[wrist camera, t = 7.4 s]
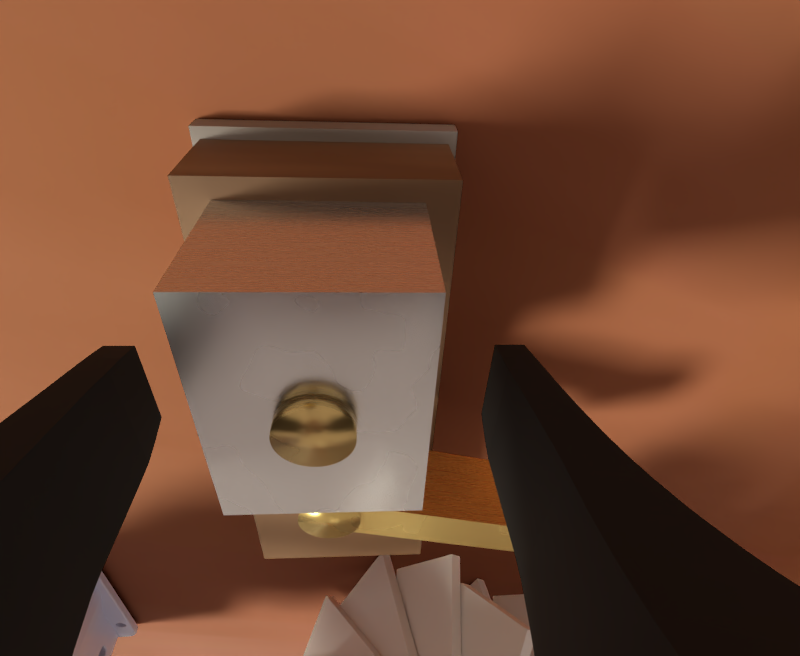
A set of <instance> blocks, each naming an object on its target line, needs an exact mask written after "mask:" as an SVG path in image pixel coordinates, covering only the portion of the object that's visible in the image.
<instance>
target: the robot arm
mask: <svg viewBox="0 0 800 656" xmlns="http://www.w3.org/2000/svg"><path fill="white" fill-rule="evenodd" d="M481 414H482V421H483V428H484V435H485V442H486V448H487V454H488V460H489V463H490V467H491V471H492V475H493V478H494V482H495V485H496V489H497V493H498V496H499V500H500V503H501V507H502V511H503V514H504V518H505V521H506V525H507V528H508V532H509V536H510V539H511V543H512V546H513V550H514V553H515V557H516V561H517V565H518V569H519V574H520V578H521V582H522V587H523V593H524V599H525V604H526V610H527V615H528V621H529V626H530V632H531V638H532V644H533V650H534V656H800V587H799V586H798V585H796V584H795V583H793V582H792V581H790V580H789V579H787V578H786V577H784V576H782V575H781V574H779V573H778V572H776V571H775V570H774V569H772V568H771V567H769V566H768V565H766V564H765V563H763V562H762V561H760V560H759V559H757V558H756V557H755V556H753V555H752V554H750V553H749V552H747V551H746V550H745V549H743V548H742V547H740V546H739V545H738V544H736V543H735V542H734V541H732V540H731V539H730V538H728V537H727V536H725V535H724V534H723V533H721V532H720V531H719V530H717V529H716V528H715V527H713V526H712V525H710V524H709V523H708V522H706V521H705V520H704V519H702V518H701V517H700V516H699V515H697V514H696V513H695V512H693V511H692V510H691V509H690V508H688V507H687V506H686V505H685V504H683V503H682V502H681V501H680V500H678V499H677V498H676V497H675V496H674V495H672V494H671V493H670V492H669V491H668V490H666V489H665V488H664V487H663V486H662V485H660V484H659V483H658V482H657V481H656V480H654V479H653V478H652V477H651V476H650V475H649V474H647V473H646V472H645V471H644V470H643V469H642V468H641V467H640V466H638V465H637V464H636V463H635V462H634V461H633V460H632V459H631V458H630V457H629V456H628V455H627V454H625V453H624V452H623V451H622V450H621V449H620V448H619V447H618V446H617V445H616V444H615V443H614V442H613V441H612V440H611V439H610V438H609V437H608V436H607V435H606V434H605V433H604V432H603V431H602V430H601V429H600V428H599V427H598V426H597V425H596V424H595V423H594V422H593V421H592V420H591V419H590V418H589V417H588V416H587V415H586V414H585V413H584V411H583V410H582V409H581V408H580V407H579V406H578V405H577V404H576V403H575V402H574V401H573V400H572V399H571V397H570V396H569V395H568V394H567V393H566V392H565V391H564V390H563V389H562V387H561V386H560V385H559V384H558V383H557V382H556V381H555V380H554V378H553V377H552V376H551V375H550V374H549V373H548V372H547V370H546V369H545V368H544V367H543V366H542V365H541V363H540V362H539V361H538V360H537V359H536V358H535V357H534V355H533V354H532V353H531V352H530V351H529V350H528V349H527V348H526V346H525V345H495V347H494V352H493V357H492V362H491V368H490V373H489V378H488V383H487V388H486V393H485V398H484V403H483V408H482V413H481ZM160 421H161V415H160V412H159V409H158V407H157V404H156V401H155V399H154V396H153V393H152V391H151V388H150V385H149V383H148V380H147V377H146V375H145V372H144V369H143V367H142V364H141V361H140V359H139V356H138V353H137V351H136V348H135V346H102V347H101V348H99V349H98V350H97V351H95V352H94V353H92V354H91V355H89V356H88V357H87V358H85V359H84V360H83V361H81V362H80V363H79V364H77V365H76V366H75V367H73V368H72V369H71V370H69V371H68V372H67V373H65V374H64V375H63V376H62V377H60V378H59V379H58V380H56V381H55V382H54V383H52V384H51V385H50V386H49V387H47V388H46V389H45V390H43V391H42V392H41V393H39V394H38V395H37V396H35V397H34V398H33V399H31V400H30V401H29V402H27V403H26V404H25V405H23V406H22V407H21V408H19V409H18V410H17V411H15V412H14V413H13V414H12V415H10V416H9V417H8V418H6V419H5V420H4V421H2V422H1V423H0V656H111V655H112V652H113V649H114V646H115V644H116V641H117V638H118V637H127V636H133V635H135V634H136V632H137V629H138V625H137V624H136V622H135V621H134V619H133V618H132V616H131V615H130V613H129V612H128V610H127V609H126V607H125V606H124V604H123V602H122V601H121V599H120V598H119V596H118V595H117V593H116V592H115V590H114V589H113V587H112V586H111V584H110V583H109V581H108V580H107V578H106V577H105V575H104V574H103V572H102V569H103V567H104V564H105V562H106V560H107V558H108V555H109V553H110V551H111V549H112V546H113V544H114V542H115V539H116V537H117V535H118V533H119V530H120V528H121V526H122V524H123V521H124V519H125V517H126V515H127V512H128V510H129V508H130V506H131V503H132V501H133V499H134V496H135V494H136V492H137V489H138V487H139V485H140V482H141V480H142V478H143V475H144V473H145V471H146V468H147V466H148V463H149V460H150V457H151V454H152V450H153V447H154V444H155V440H156V436H157V432H158V429H159V425H160Z"/></svg>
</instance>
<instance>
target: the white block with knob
mask: <svg viewBox="0 0 800 656" xmlns="http://www.w3.org/2000/svg"><path fill="white" fill-rule="evenodd" d="M153 294H154V297H155V300H156V303H157V306H158V310H159V313H160V316H161V319H162V322H163V325H164V329H165V332H166V335H167V338H168V341H169V344H170V348H171V351H172V354H173V357H174V360H175V363H176V366H177V370H178V373H179V376H180V379H181V382H182V385H183V389H184V392H185V395H186V398H187V401H188V404H189V408H190V411H191V414H192V417H193V420H194V423H195V427H196V430H197V433H198V436H199V439H200V442H201V445H202V449H203V452H204V455H205V458H206V461H207V464H208V468H209V471H210V474H211V477H212V480H213V483H214V487H215V490H216V493H217V496H218V499H219V502H220V506H221V509H222V512H223V515H255V514H295V513H335V512H375V511H415V510H422V509H423V499H424V490H425V481H426V472H427V463H428V453H429V444H430V435H431V426H432V417H433V407H434V398H435V389H436V380H437V371H438V361H439V352H440V343H441V334H442V325H443V315H444V306H445V297H446V291H445V286H444V282H443V277H442V273H441V268H440V264H439V259H438V255H437V250H436V246H435V241H434V237H433V233H432V228H431V224H430V219H429V215H428V210H427V206H426V202H352V201H275V200H210V202H209V203H208V205H207V206H206V208H205V210H204V211H203V213H202V214H201V216H200V218H199V219H198V221H197V222H196V224H195V226H194V227H193V229H192V230H191V232H190V234H189V235H188V237H187V238H186V240H185V242H184V243H183V245H182V246H181V248H180V250H179V251H178V253H177V254H176V256H175V258H174V259H173V261H172V262H171V264H170V266H169V267H168V269H167V270H166V272H165V274H164V275H163V277H162V278H161V280H160V282H159V283H158V285H157V286H156V288H155V290H154V291H153Z"/></svg>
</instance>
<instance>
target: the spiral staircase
mask: <svg viewBox="0 0 800 656" xmlns="http://www.w3.org/2000/svg"><path fill="white" fill-rule="evenodd" d="M303 656H534V650H533V644H532V638H531V632H530V626H529V621H528V615H527V610H526V604H525V599H524V594H516V595H499V596H493V601H492V600H491V598H490V595H489V593H488V590H487V587H486V585H485V582H484V580H482V579H478V578H477V579H476V580H475V581H474V582H473V583H472V584H471V585H468V584H464V583H460V556H457V555H453V554H450V555H447V556H443V557H439V558H436V559H432V560H428V561H425V562H421V563H417V564H414V565H410V566H407V567H403V568H399V569H397V575H395V572H394V568H393V565H392V561H391V557H390V555H379V556H378V558H377V559H376V560H375V561H374V563H373V564H372V565H371V566H370V568H369V569H368V570H367V572H366V573H365V574H364V575H363V577H362V578H361V579H360V580H359V582H358V583H357V584H356V585H355V587H354V588H353V589H352V591H351V592H350V593H349V594H348V596H347V597H346V598H345V599H344V601H343V602H342V603H341V605H340V604H339V603H338V601H337V600H336V599H335V598H334V597H332V596H327V595H326V597H325V599H324V602H323V605H322V607H321V610H320V613H319V615H318V618H317V621H316V623H315V626H314V629H313V631H312V634H311V637H310V639H309V642H308V645H307V647H306V650H305V652H304V655H303Z"/></svg>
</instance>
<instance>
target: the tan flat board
mask: <svg viewBox="0 0 800 656" xmlns="http://www.w3.org/2000/svg"><path fill="white" fill-rule="evenodd" d="M189 131H190V135H191V140H192V145H193V147H192V149H191V150H190V151H189V152H188V153H187V154H186V155H185V156H184V158H183V159H182V160H181V161H180V162H179V163H178V164H177V166H176V167H175V168H174V169H173V170H172V171H171V172H170V174H169V175H168V179H169V182H170V186H171V190H172V194H173V198H174V202H175V206H176V210H177V214H178V218H179V222H180V226H181V230H182V234H183V238H184V242H185V240H186V238H187V237H188V235H189V234H190V232H191V230H192V229H193V227H194V226H195V224H196V222H197V221H198V219H199V218H200V216H201V214H202V213H203V211H204V210H205V208H206V206H207V205H208V203H209V202H210V200H275V201H352V202H426V206H427V210H428V215H429V219H430V224H431V228H432V233H433V237H434V241H435V246H436V250H437V255H438V259H439V264H440V268H441V273H442V277H443V282H444V286H445V291H446V297H445V306H444V315H443V325H442V334H441V343H440V352H439V361H438V371H437V380H436V389H435V398H434V407H433V417H432V426H431V435H430V444H429V450H431V451H432V447H433V438H434V430H435V421H436V412H437V404H438V395H439V386H440V377H441V369H442V360H443V351H444V343H445V334H446V325H447V316H448V308H449V299H450V290H451V282H452V273H453V264H454V256H455V247H456V238H457V229H458V221H459V212H460V203H461V195H462V186H463V179H462V176H461V174H460V171H459V169H458V166H457V164H456V161H455V154H456V144H457V135H458V131H457V129H456V127H455V125H445V124H401V123H357V122H313V121H268V120H224V119H195V120H194V121H193V122H192V123H191V124H190V125H189ZM298 515H299V513H295V514H255V515H254V519H255V523H256V527H257V531H258V535H259V539H260V543H261V547H262V551H263V555H264V559H277V558H310V557H343V556H376V555H409V554H420V552H421V543H422V540H414V539H406V538H398V537H390V536H381V535H373V534H365V533H357V532H353V533H351V534H349V535H346V536H343V537H339V538H320V537H316V536H312V535H310V534H308V533H306V532H305V531H303V530H302V529H301V528H300V526H299V524H298Z"/></svg>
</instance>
